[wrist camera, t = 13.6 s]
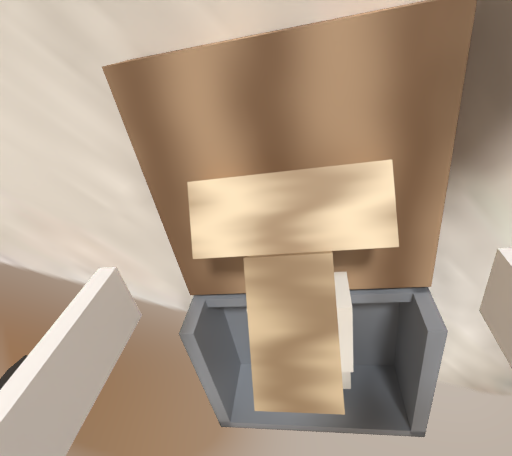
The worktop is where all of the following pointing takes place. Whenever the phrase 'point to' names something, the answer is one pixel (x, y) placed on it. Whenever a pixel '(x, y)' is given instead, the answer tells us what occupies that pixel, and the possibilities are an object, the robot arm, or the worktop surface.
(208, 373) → the tray
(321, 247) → the scraper
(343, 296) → the tile
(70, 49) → the worktop surface
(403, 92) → the board
